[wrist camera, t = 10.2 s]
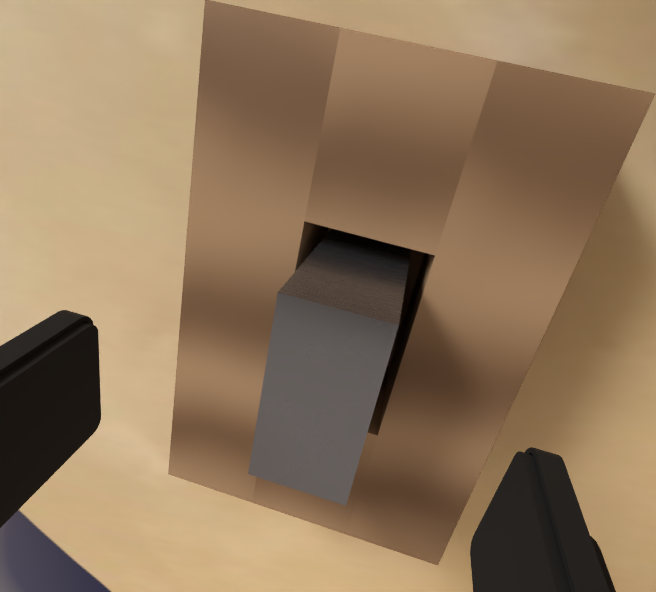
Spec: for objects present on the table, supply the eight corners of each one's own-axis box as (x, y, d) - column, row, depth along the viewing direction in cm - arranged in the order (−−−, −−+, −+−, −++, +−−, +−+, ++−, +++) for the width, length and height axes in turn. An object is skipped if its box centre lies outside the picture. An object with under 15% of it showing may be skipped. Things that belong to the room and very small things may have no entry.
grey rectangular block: (343, 214, 19) (277, 292, 11) (414, 231, 19) (398, 325, 11) (318, 336, 22) (248, 474, 14) (379, 353, 21) (346, 505, 13)
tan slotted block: (281, 35, 19) (205, -1, 13) (575, 98, 18) (655, 93, 11) (232, 386, 26) (168, 473, 20) (436, 449, 25) (437, 565, 19)
